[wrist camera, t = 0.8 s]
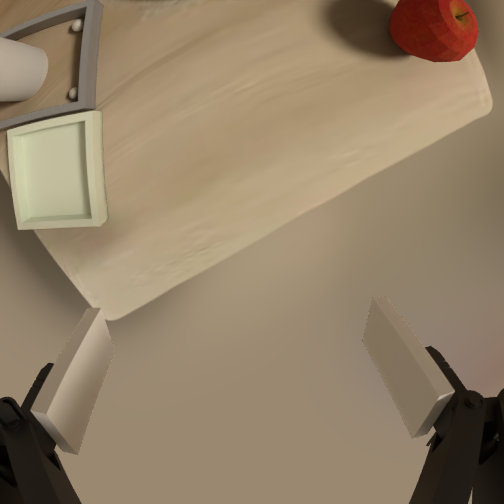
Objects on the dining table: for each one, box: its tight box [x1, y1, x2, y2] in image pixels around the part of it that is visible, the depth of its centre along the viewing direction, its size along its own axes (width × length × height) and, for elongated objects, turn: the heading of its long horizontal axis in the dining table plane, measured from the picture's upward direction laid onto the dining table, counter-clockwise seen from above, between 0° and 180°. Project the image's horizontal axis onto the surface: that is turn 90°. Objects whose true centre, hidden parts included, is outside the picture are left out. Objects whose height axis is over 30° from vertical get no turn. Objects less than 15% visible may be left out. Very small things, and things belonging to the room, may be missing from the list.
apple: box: [389, 0, 478, 62], centre depth 23 cm, size 10×10×14 cm
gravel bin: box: [0, 0, 104, 131], centre depth 26 cm, size 15×24×3 cm, turn 89°
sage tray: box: [7, 111, 108, 230], centre depth 32 cm, size 14×14×3 cm
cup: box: [0, 37, 48, 101], centre depth 22 cm, size 8×8×12 cm
